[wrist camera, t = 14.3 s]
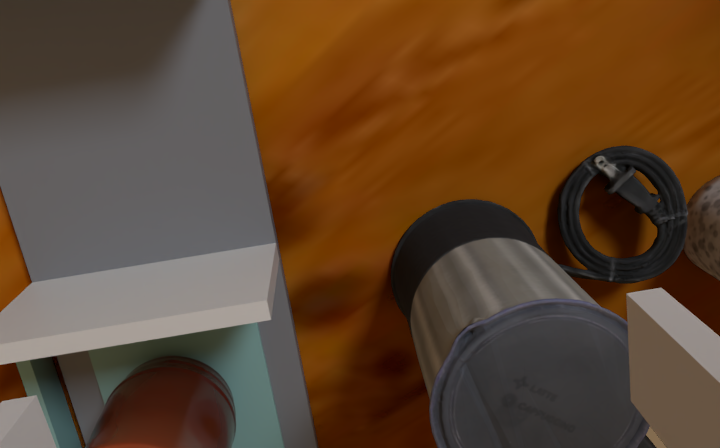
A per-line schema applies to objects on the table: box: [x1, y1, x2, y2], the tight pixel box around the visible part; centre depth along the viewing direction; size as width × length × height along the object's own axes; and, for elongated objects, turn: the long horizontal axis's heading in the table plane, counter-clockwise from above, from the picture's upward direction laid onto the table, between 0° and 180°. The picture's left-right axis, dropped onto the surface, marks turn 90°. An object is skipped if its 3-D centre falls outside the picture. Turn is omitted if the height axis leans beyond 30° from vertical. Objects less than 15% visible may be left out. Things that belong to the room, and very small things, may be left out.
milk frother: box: [391, 146, 688, 448], centre depth 32 cm, size 14×16×15 cm
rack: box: [0, 0, 319, 448], centre depth 34 cm, size 16×33×9 cm, turn 8°
